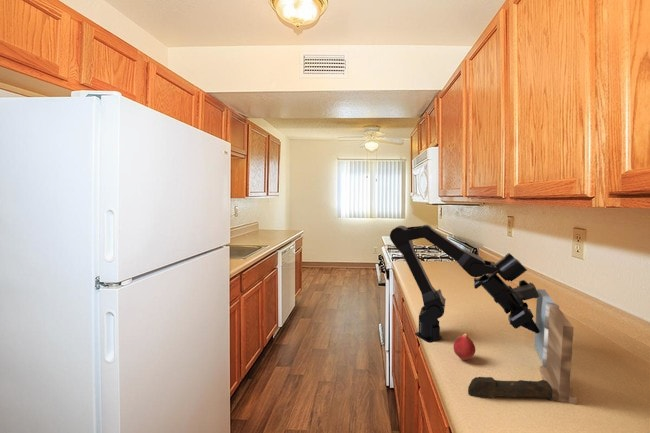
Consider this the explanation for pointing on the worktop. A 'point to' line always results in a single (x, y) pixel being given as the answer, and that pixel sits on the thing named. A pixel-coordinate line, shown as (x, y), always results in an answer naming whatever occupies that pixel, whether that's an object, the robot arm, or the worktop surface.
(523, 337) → the worktop surface
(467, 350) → the onion
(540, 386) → the hand tool
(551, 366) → the hinge frame
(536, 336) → the hinged leaf
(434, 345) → the worktop surface
